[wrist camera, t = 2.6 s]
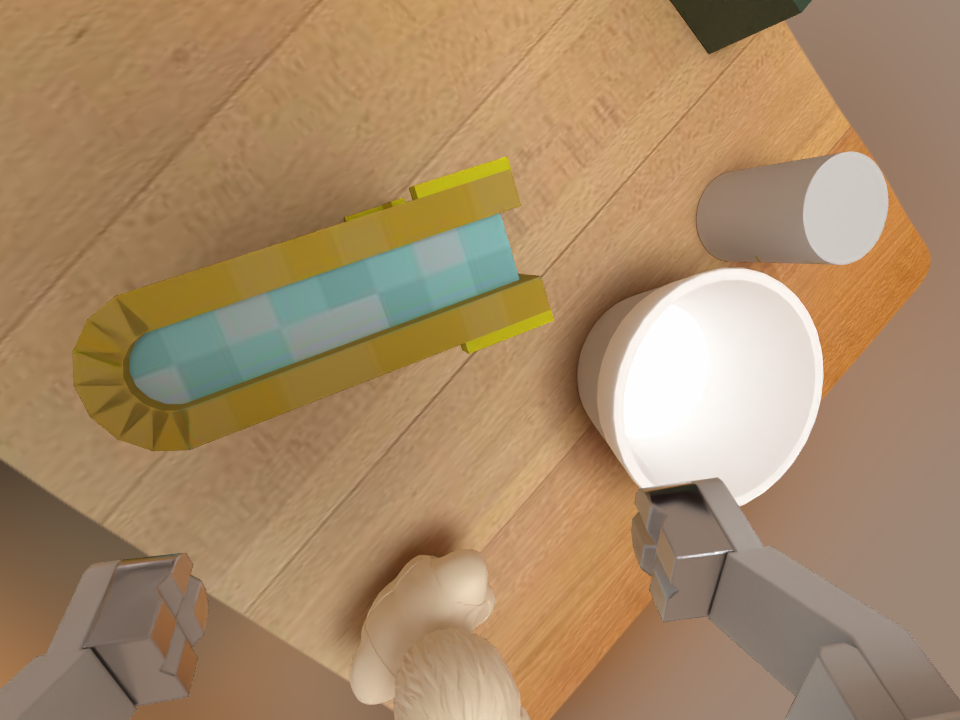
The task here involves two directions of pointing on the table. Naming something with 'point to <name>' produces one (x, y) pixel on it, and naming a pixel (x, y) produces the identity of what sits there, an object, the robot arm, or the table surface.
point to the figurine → (435, 645)
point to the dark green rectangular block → (734, 18)
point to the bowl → (705, 381)
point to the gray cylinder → (795, 211)
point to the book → (309, 315)
